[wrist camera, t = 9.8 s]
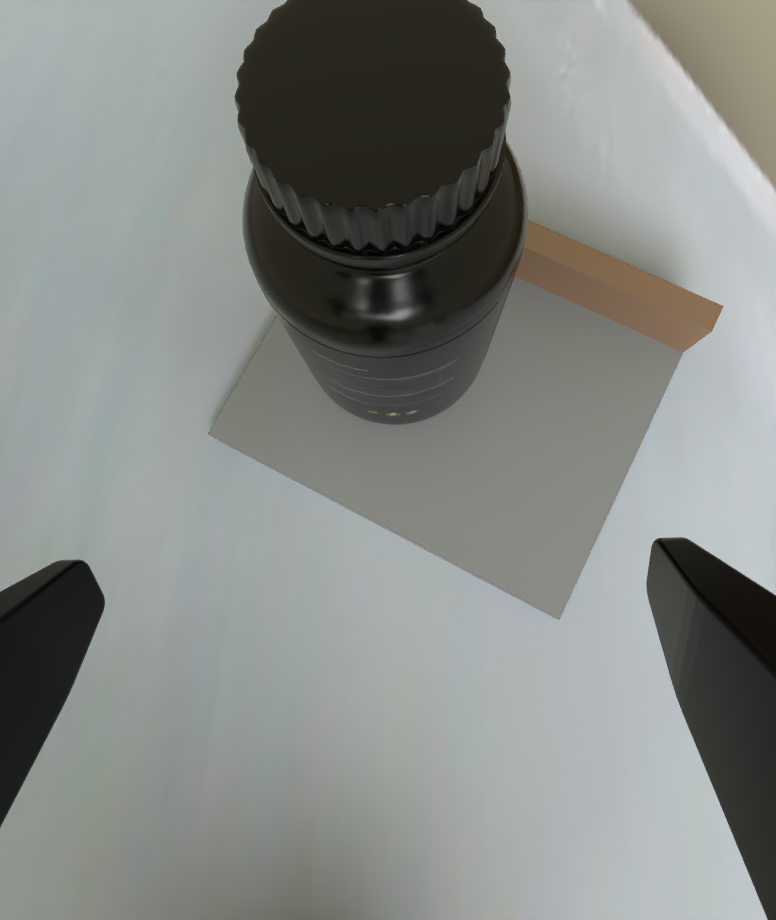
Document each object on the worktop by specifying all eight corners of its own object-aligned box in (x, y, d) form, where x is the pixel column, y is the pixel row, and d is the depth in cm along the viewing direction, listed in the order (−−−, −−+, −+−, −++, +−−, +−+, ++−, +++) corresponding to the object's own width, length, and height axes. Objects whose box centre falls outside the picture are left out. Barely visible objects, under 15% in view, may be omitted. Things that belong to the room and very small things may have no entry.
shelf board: (554, 617, 20) (576, 627, 17) (213, 437, 21) (186, 421, 19) (687, 331, 21) (725, 301, 19) (361, 185, 23) (354, 138, 20)
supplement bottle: (309, 264, 22) (187, -81, 10) (481, 259, 21) (567, -101, 10) (305, 432, 21) (161, 267, 9) (487, 430, 20) (593, 256, 8)
